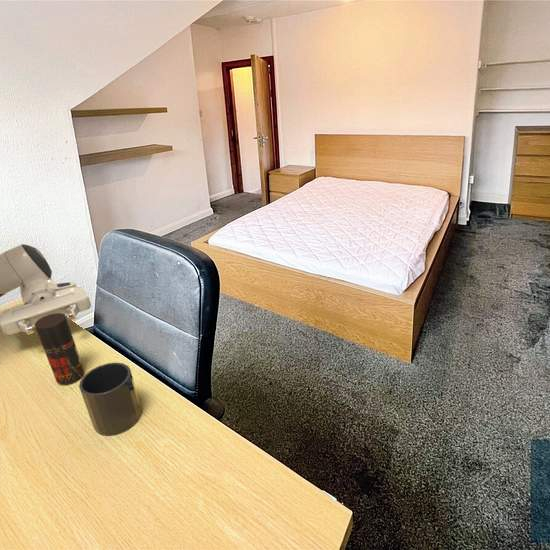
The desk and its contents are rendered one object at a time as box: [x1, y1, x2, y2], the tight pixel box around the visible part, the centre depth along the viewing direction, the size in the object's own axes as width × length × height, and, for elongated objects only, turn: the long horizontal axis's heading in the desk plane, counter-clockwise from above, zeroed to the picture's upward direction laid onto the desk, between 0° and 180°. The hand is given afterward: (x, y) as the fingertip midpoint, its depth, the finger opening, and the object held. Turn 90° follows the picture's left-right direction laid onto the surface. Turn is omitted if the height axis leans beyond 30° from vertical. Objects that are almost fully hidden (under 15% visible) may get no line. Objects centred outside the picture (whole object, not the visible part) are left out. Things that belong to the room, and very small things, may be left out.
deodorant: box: [34, 313, 86, 386], centre depth 89 cm, size 6×6×15 cm
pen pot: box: [78, 362, 142, 437], centre depth 78 cm, size 9×9×10 cm
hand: (51, 324), depth 98 cm, fingers open, 8 cm apart
